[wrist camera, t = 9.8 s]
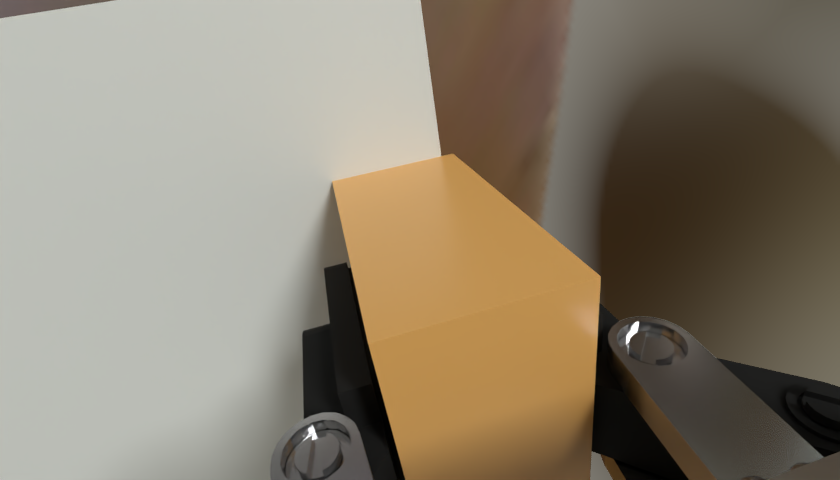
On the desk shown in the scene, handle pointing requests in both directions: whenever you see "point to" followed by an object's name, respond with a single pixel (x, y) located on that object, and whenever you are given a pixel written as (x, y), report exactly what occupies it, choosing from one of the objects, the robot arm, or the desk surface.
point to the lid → (263, 249)
